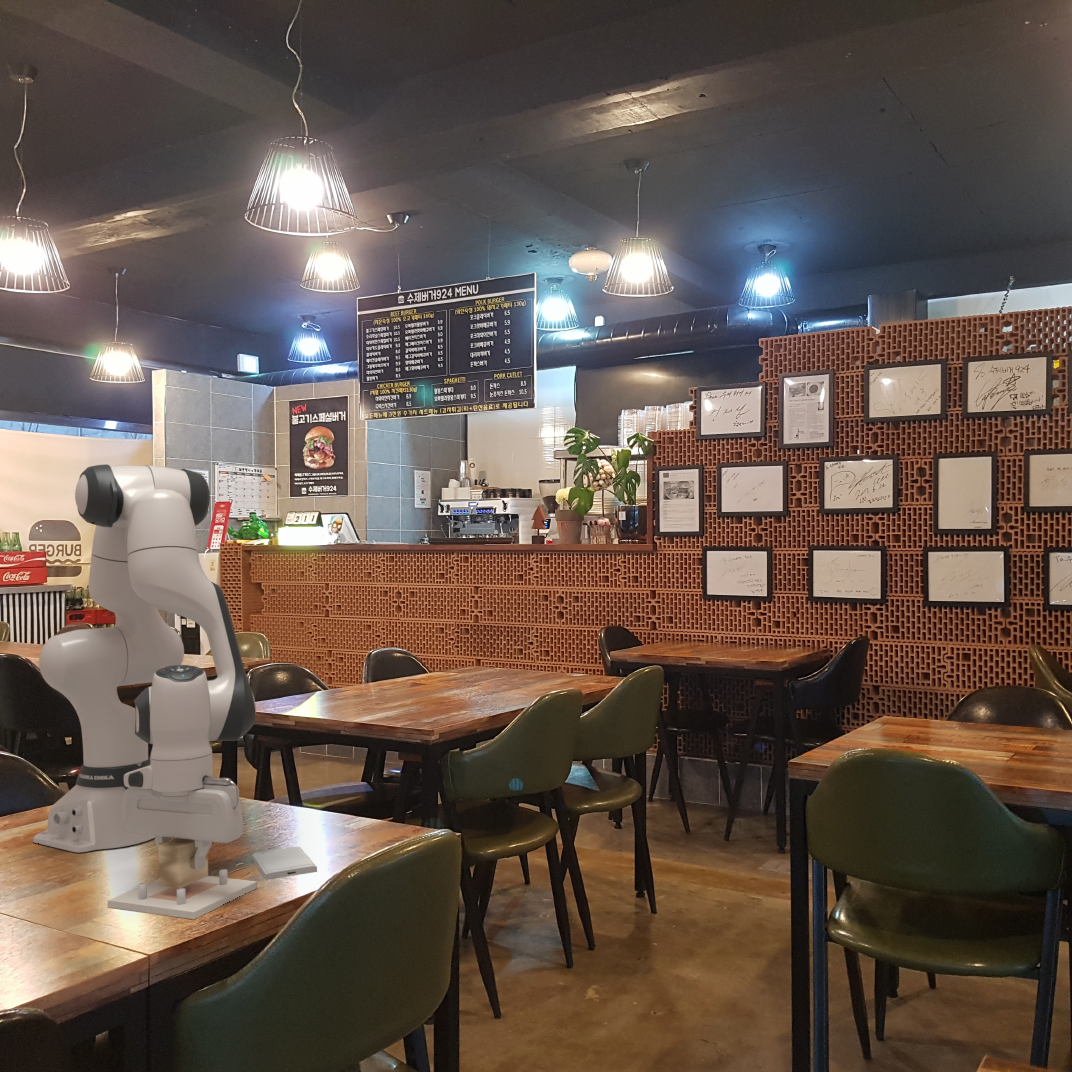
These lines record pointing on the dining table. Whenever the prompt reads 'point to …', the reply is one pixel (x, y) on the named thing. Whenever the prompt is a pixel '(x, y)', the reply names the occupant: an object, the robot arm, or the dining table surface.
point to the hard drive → (283, 863)
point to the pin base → (183, 896)
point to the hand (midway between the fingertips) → (183, 866)
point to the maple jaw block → (179, 863)
